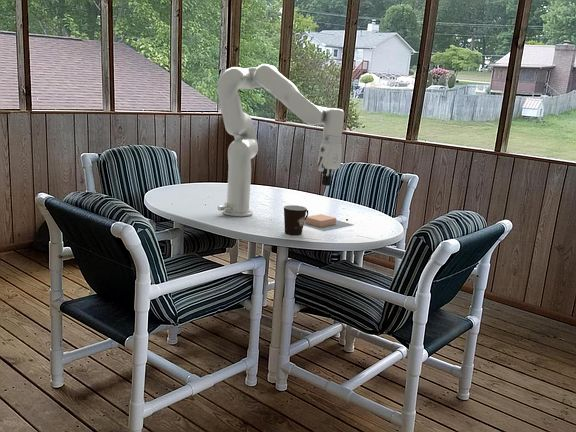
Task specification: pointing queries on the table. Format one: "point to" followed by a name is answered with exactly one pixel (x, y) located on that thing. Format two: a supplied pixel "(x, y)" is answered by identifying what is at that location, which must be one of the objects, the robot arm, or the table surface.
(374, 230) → the table surface
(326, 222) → the wooden picture frame
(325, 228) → the mat
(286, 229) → the coffee mug
